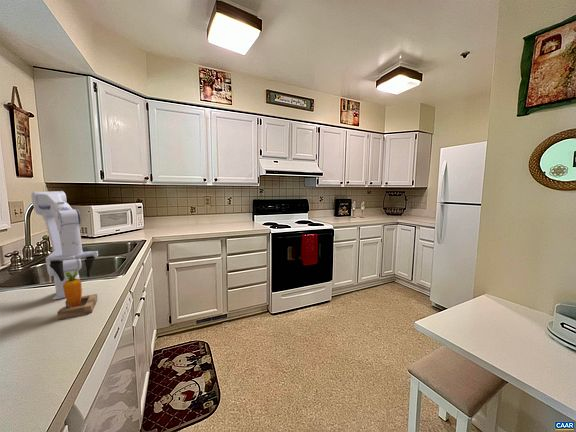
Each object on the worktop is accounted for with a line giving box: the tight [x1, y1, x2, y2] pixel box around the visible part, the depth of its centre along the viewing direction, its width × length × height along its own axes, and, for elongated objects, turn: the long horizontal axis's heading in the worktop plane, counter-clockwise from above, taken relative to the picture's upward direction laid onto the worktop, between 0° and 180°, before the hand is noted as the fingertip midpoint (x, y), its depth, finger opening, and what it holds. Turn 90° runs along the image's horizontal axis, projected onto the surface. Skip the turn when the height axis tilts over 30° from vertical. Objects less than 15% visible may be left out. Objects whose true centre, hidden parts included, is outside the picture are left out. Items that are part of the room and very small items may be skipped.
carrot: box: [63, 270, 83, 308], centre depth 88 cm, size 5×5×15 cm
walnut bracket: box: [57, 293, 99, 320], centre depth 90 cm, size 11×9×2 cm
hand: (76, 278), depth 92 cm, fingers open, 7 cm apart
